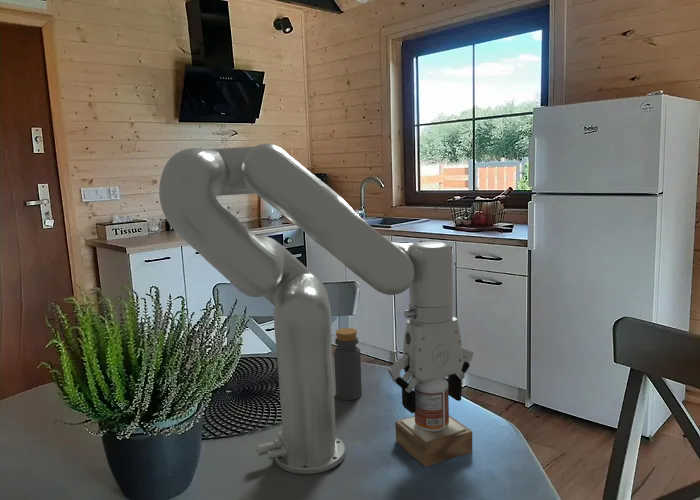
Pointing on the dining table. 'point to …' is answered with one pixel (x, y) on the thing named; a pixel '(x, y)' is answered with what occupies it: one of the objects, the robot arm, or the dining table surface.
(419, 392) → the pill bottle
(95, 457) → the dining table surface
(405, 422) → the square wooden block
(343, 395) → the bottle
